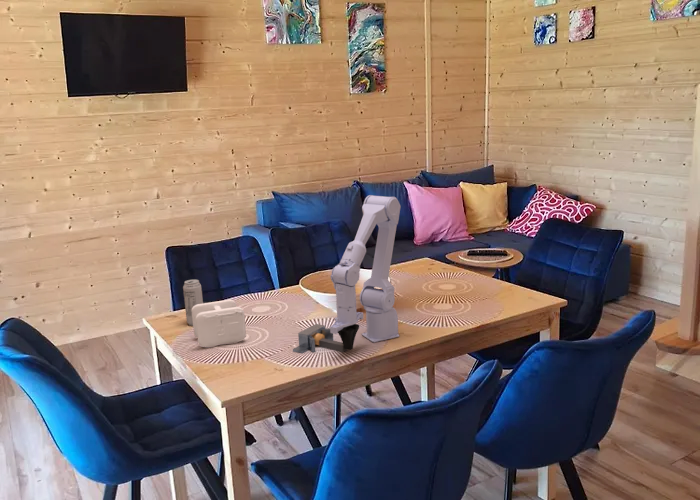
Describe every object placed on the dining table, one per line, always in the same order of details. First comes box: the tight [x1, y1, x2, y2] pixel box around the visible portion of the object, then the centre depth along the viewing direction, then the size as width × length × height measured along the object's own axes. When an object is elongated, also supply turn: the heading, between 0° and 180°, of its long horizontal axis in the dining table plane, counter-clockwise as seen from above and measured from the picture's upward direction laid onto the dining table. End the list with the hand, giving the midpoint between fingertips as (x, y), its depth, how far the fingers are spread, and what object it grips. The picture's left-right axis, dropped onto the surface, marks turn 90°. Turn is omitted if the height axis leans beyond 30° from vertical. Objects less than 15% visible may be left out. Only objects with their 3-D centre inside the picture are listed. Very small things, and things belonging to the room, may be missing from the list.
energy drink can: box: [182, 279, 204, 327], centre depth 222 cm, size 6×6×15 cm
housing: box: [292, 323, 335, 354], centre depth 199 cm, size 6×15×5 cm, turn 146°
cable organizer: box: [192, 299, 247, 349], centre depth 205 cm, size 15×11×12 cm
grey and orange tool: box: [311, 333, 348, 353], centre depth 197 cm, size 13×4×4 cm, turn 54°
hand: (348, 348), depth 193 cm, fingers closed, pressing on grey and orange tool
